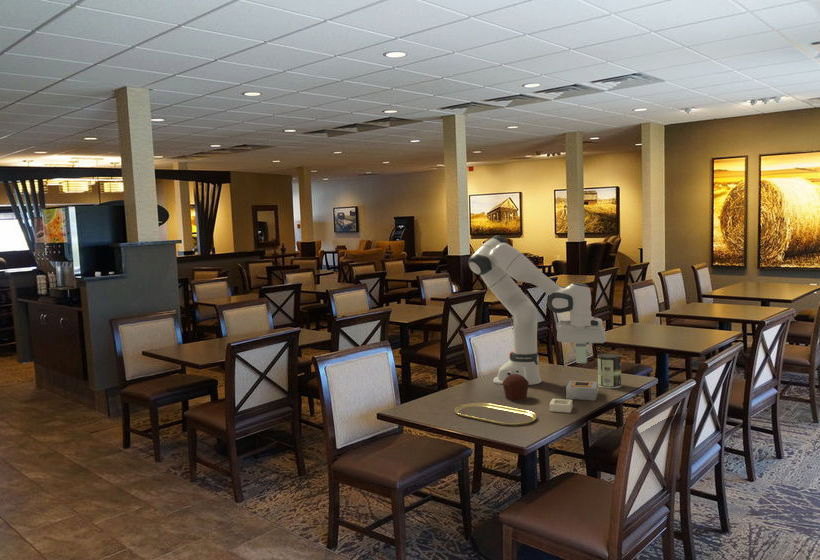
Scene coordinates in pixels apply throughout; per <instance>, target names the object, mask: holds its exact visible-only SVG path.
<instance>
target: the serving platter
mask: <svg viewBox="0 0 820 560" xmlns="http://www.w3.org/2000/svg"><path fill="white" fill-rule="evenodd" d="M474 407H480V408H481V407H483V408H490V409H495V410H501V411H507V412H512V413H517V414H523V415H527V416H529V417H531V418H532V420H529V421H525V422H502V421H496V420H492V419H486V418H482V417H476V416H473V415H469V414H468V415H467V414H462V413H460V412H459V411H461V410H463V409H467V408H474ZM454 412H455V414H456V415H458V416H460V417H463V418H468V419H471V420H477V421H482V422H487V423H491V424H497V425H501V426H512V427H513V426H514V427H516V426H525V425H528V424H531V423H534V422H535V421H536V420H537V418H538V416H537V414H536V413H535V412H532V411H530V410H526V409H519V408H515V407H510V406H504V405H498V404H494V403H488V402H472V403H463V404H460V405H458V406H456V407H455V408H454Z"/></svg>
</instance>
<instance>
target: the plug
mask: <svg viewBox="0 0 820 560" xmlns="http://www.w3.org/2000/svg"><path fill="white" fill-rule="evenodd" d="M587 344H588V343H586V342H575V348H576V353H575V360H576V361H575V362H576V364H587V362H588V357H587V355H588V353H586V348H588V347H587Z"/></svg>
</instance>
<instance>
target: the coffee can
mask: <svg viewBox="0 0 820 560" xmlns="http://www.w3.org/2000/svg"><path fill="white" fill-rule="evenodd" d="M597 382H598V388H603V389H619V388H622V355H621V354H618V353H611V352H607V353H606V352H603V353H599V354H597Z"/></svg>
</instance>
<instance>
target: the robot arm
mask: <svg viewBox="0 0 820 560" xmlns="http://www.w3.org/2000/svg"><path fill="white" fill-rule="evenodd" d="M467 260H468V261H467V264H468V268H469V269H470V270H471V272H472V273H474V274H475V275H478V276H480V277H481V279H482V280H483V282H484V284H486V287H488V289H489V290H490V291H491V292H492V294H493V295H494V296H495V297H496V298H497V299H498V300H499V302H500V303H501V304H502V306H504V308H505V309H506V311H508V312H509V313H510V315H511V316H512V317H513V330H512V331H513V332H512V336H513V337H512V338H513V339H512V340H513V341H512V343H513V344H512V345H513V350H512V351H510V353H509V355H508V357H509V360H508V361H506V362H505V363H504V364H503V365H501V366H500V367H499V369H498V373H497V375H496V376H495V377H493V380H492V381H493V384H495V385H496V384H498V385H503V384H502V383H503V381H504V380H505V378H506V377H508V376H509V375H512V374H519V375H521V376H523V377H525V378H526V380H527V381H528V382H529V384H528V386H532V385H538V384H540V383H541V382H542V379H541V376H540V371H539V363H540V362H539V361H540V360H539V359H540V358H539V351H538V339H537V338H538V319H539V318H538V313H539V312H538V309H537V307H536V306H535V304H534V303H533V302H532V301H531V299H529V298H528V296H527V294H525V293H524V292H523V290H522V289H521V288H520V286H519V285H517V283H516V282H515V280H516V281H518V282H521V283H528V284H531V285H534V286H536V287H537V288H539V289H540V290H541V291H542V292H544V293H545V295H548V296H547V299H546V303H547V304H546V305H547V307H548V309H549V310H550V311H551V312H553V313H556V314H563V313H567V312H569V320H561V319H560V320H559V321H557V323H556V325H555V328H556V330H557V332H556V341H557V342H558V343H569V346H571V349H572V353H575V354H576V346H575V345H574V344H575V343H576V342H586V343H587V344H588V347H587V348H586V353H587V354H590V353H591V352H590V351H591V348H592V346H593V344H604V343H605V342H606V340H607V337H606V330H605V327H604V325H603V320H602V318H599V317H595V316H592V310H591V305H592V293H591V289H590V286H589V285H588V284H585V283H582V282H571V283H570V284H569V285H568V286H562V285H560V284H558V283H557V282H555V281H554V280H553V279H551V278H550V277H549V276H547V275H546V274H545V273H543V272H542V271H541V270H540V269H539V268H538V267H537V266H536V265H535V264H534V263H533V262H532V261H531V260H530V259H529V258H528V257H527V256H525V255H524V254H523V253H522V252H521V251H519V250H518V249H516V248H515V247H513V246H512V245H510V244H509V242H508V240H507V239H506V238H505V237H503V236H502V235H494V236H492V237H490V238H489V239H488V240H487V241H485V242H484V243H483V244H481V245H480V246H479V248H478V249H477V250H476V251H475V252H474V253H472V255H471V256H470V257H469V259H467Z"/></svg>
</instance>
